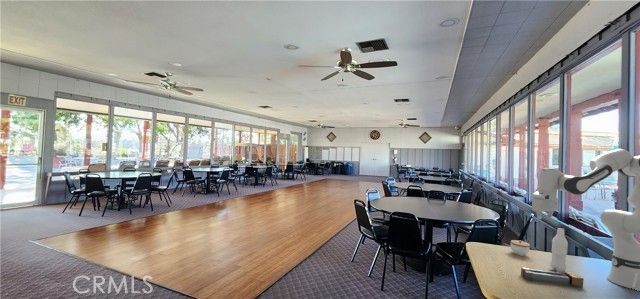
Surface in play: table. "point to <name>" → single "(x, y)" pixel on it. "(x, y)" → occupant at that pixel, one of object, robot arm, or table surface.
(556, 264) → the water bottle
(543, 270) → the tong arm
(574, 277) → the tong base
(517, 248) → the lidded jar
